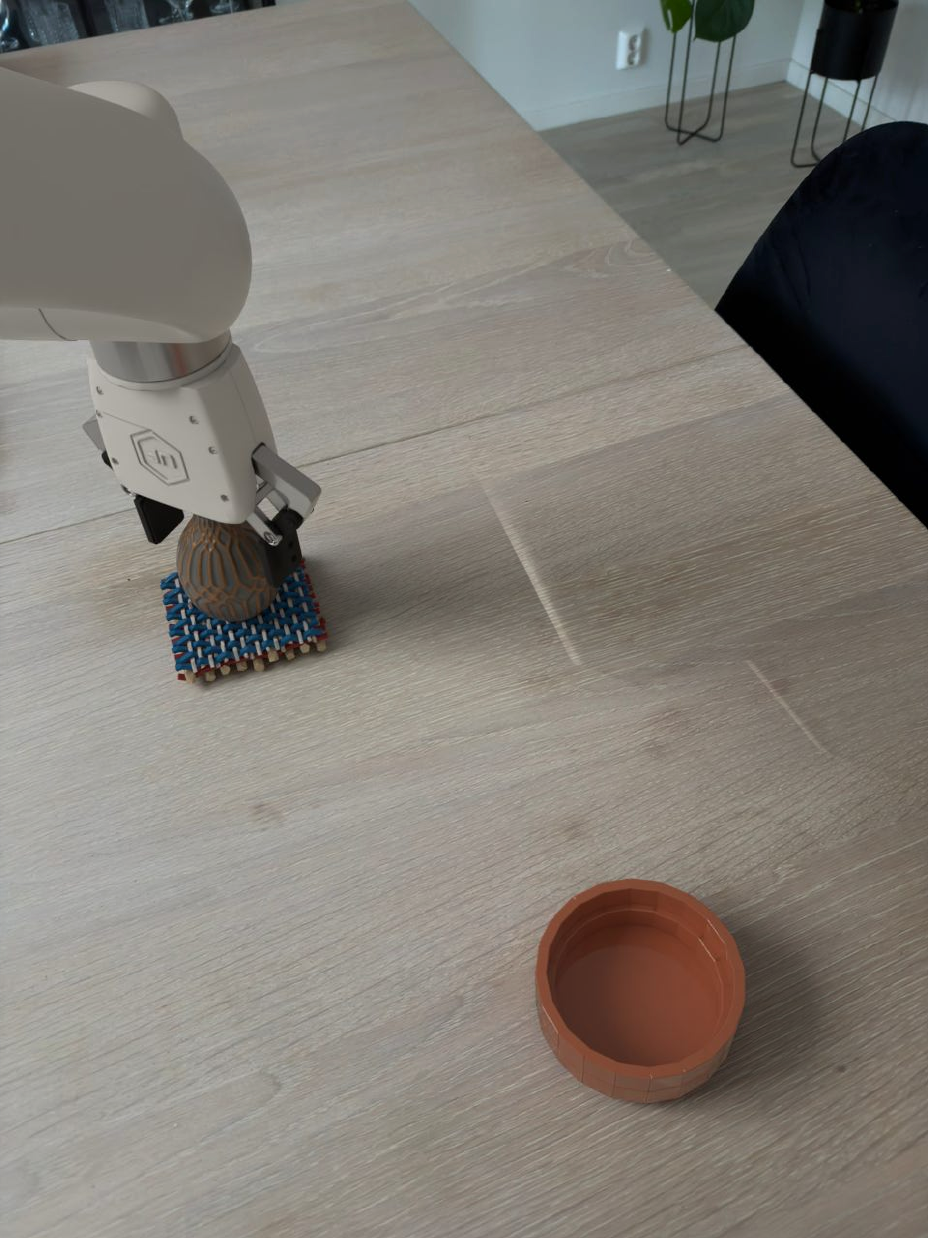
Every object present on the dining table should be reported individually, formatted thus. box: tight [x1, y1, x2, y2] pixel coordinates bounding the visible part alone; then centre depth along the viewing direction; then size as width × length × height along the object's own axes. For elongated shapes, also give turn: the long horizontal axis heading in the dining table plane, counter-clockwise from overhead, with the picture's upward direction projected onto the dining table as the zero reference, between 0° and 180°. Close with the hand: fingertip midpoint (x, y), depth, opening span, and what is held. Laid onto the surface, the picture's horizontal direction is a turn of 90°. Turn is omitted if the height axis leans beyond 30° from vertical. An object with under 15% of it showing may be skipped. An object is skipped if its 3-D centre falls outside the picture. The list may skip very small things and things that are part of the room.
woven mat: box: [159, 557, 329, 685], centre depth 77 cm, size 10×11×2 cm
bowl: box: [534, 878, 747, 1104], centre depth 56 cm, size 10×10×4 cm
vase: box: [175, 513, 280, 622], centre depth 73 cm, size 7×7×9 cm
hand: (225, 551), depth 73 cm, fingers open, 9 cm apart
